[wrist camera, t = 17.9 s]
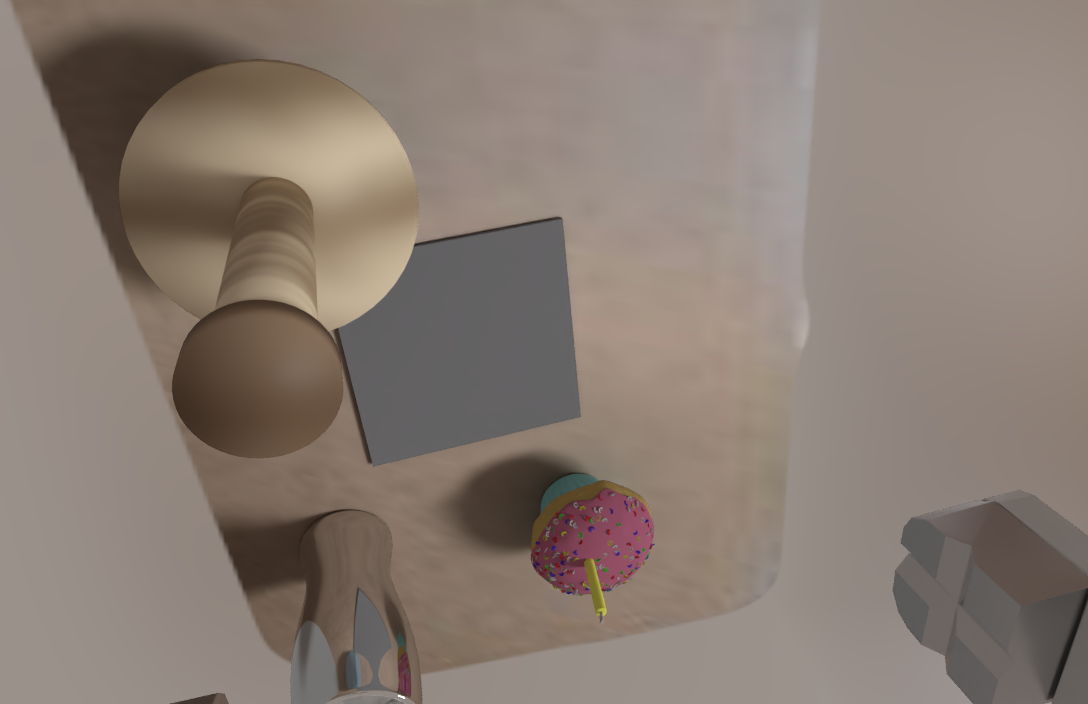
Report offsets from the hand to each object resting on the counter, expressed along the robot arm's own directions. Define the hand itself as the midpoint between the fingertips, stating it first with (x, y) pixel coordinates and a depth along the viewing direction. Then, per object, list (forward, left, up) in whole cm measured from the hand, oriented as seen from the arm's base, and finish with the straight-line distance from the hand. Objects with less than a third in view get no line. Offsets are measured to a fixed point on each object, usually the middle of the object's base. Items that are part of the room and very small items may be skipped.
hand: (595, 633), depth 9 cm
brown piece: (+3, -5, -32) cm, 32 cm away
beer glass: (+28, -7, -37) cm, 47 cm away
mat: (+15, +3, -37) cm, 40 cm away
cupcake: (+29, +9, -37) cm, 48 cm away
